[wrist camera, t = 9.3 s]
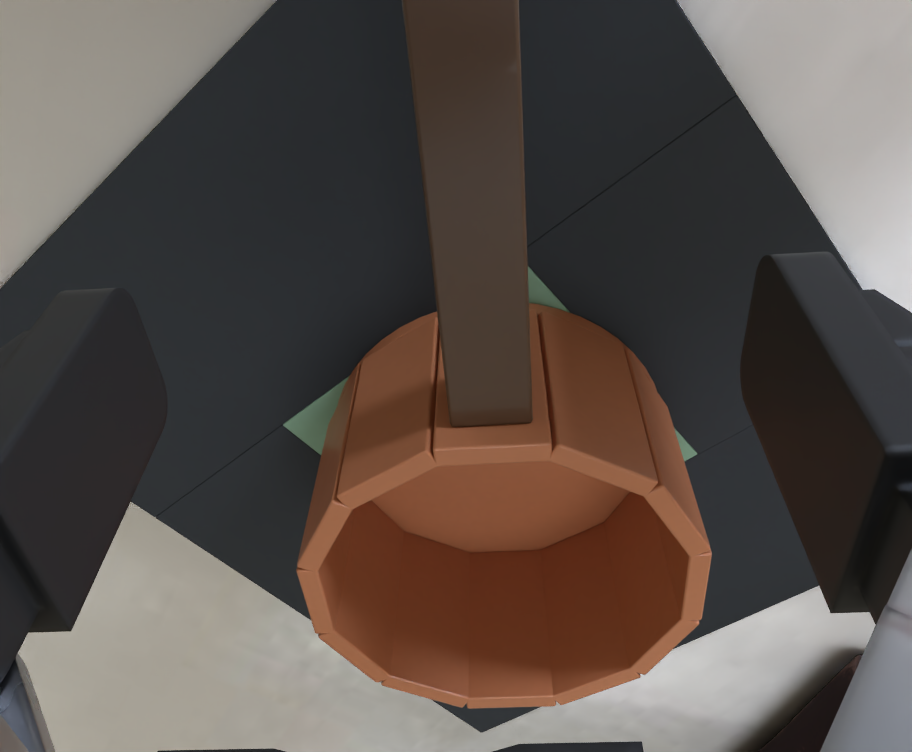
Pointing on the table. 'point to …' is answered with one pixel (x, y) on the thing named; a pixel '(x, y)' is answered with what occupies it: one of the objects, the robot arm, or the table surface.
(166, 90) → the table surface
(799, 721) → the diary
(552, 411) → the saucepan
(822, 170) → the table surface
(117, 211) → the placemat
